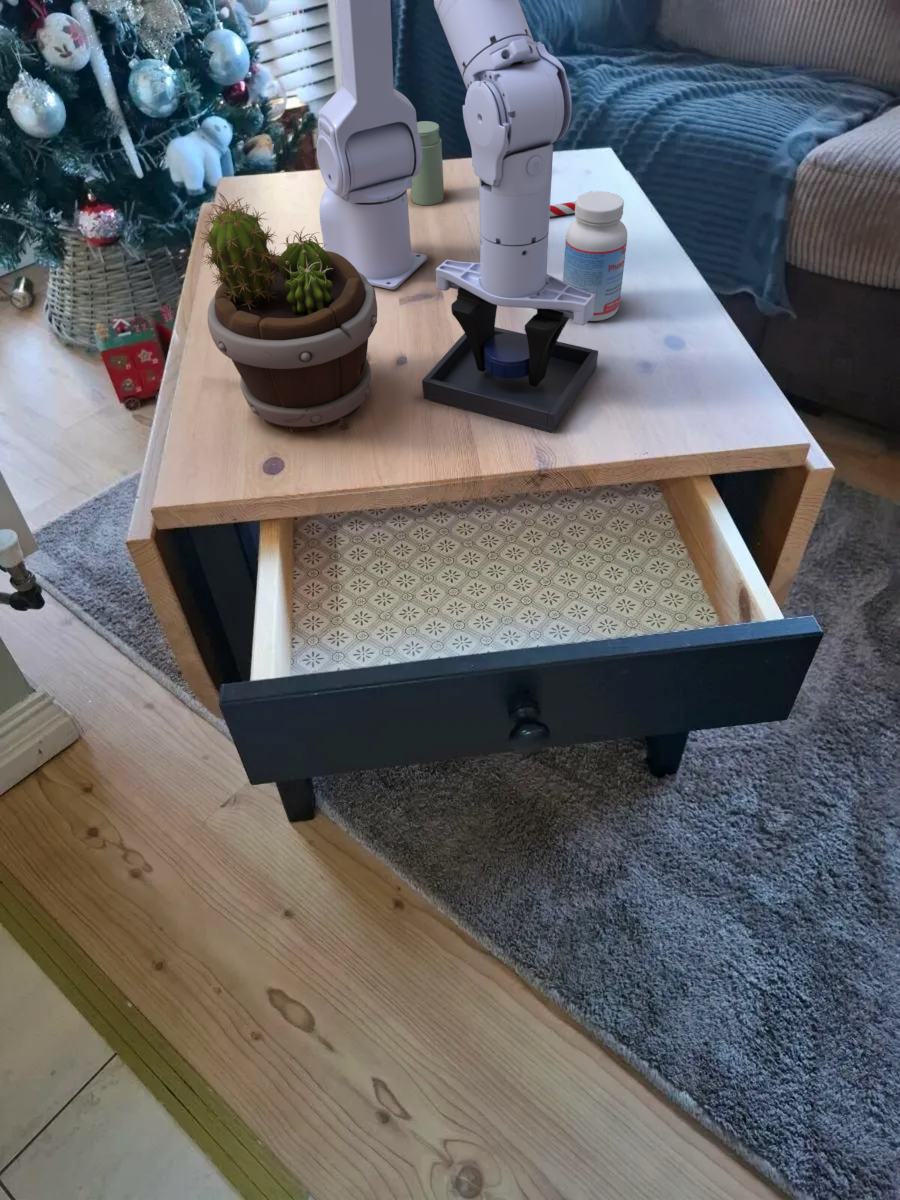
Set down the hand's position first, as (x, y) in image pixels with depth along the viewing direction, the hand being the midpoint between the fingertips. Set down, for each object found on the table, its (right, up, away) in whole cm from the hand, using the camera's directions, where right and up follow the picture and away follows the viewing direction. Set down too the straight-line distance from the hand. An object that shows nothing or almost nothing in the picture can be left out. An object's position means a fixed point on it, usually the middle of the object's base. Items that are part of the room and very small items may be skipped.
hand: (511, 373), depth 79 cm
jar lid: (0, +2, -2) cm, 3 cm away
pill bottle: (+9, +9, +10) cm, 16 cm away
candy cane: (+7, +28, +27) cm, 40 cm away
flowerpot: (-19, -3, 0) cm, 19 cm away
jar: (-9, +31, +30) cm, 43 cm away
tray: (0, -1, +1) cm, 1 cm away
